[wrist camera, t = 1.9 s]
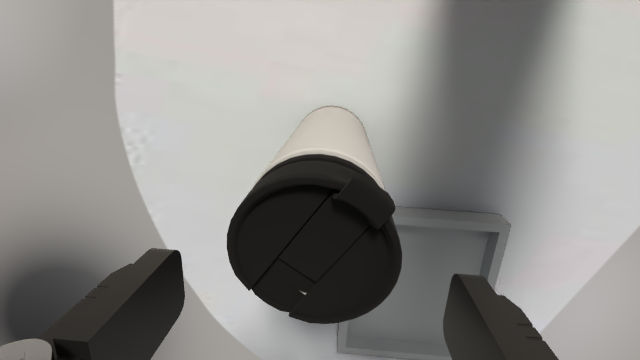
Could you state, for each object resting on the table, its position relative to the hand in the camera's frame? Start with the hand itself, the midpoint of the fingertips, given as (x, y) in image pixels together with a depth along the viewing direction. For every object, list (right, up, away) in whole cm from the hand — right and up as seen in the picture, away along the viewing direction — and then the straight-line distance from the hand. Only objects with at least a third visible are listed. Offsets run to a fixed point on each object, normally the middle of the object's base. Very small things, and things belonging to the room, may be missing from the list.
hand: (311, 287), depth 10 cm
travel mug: (+1, +7, +20) cm, 21 cm away
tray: (+10, -7, +24) cm, 27 cm away
